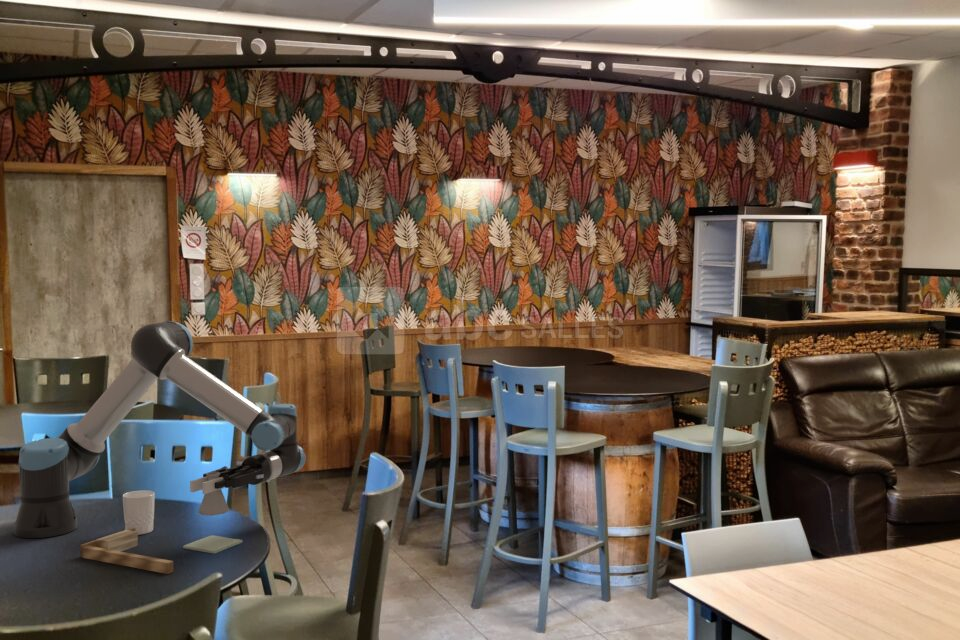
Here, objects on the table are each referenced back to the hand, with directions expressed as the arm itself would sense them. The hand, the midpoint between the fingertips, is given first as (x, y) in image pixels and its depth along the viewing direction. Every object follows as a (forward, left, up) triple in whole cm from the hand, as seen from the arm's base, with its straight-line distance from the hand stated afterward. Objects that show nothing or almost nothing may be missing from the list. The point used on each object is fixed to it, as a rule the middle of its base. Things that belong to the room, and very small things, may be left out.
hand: (197, 487), depth 222 cm
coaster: (0, +5, -16) cm, 17 cm away
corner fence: (-8, -8, -16) cm, 19 cm away
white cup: (-26, +6, -16) cm, 31 cm away
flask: (0, +5, -8) cm, 9 cm away
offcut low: (-19, -7, -16) cm, 26 cm away
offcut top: (-19, -7, -14) cm, 25 cm away
